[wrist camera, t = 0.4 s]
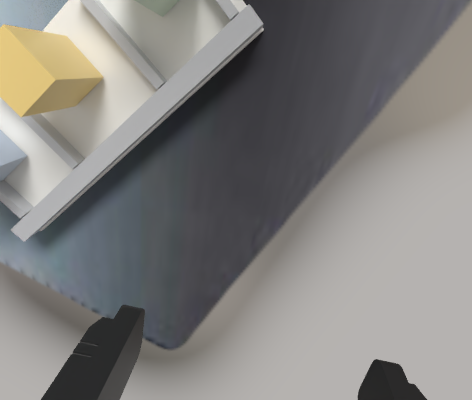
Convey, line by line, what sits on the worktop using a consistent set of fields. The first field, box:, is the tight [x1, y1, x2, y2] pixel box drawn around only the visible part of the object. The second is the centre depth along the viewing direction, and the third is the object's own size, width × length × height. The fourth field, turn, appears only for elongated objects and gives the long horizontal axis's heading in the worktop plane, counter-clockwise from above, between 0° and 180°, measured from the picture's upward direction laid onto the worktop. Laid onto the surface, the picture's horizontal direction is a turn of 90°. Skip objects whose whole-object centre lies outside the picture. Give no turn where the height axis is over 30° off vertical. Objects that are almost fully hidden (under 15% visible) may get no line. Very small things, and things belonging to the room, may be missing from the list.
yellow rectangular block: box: [0, 24, 104, 117], centre depth 30 cm, size 5×4×9 cm
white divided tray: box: [0, 0, 264, 242], centre depth 34 cm, size 14×35×4 cm, turn 130°
